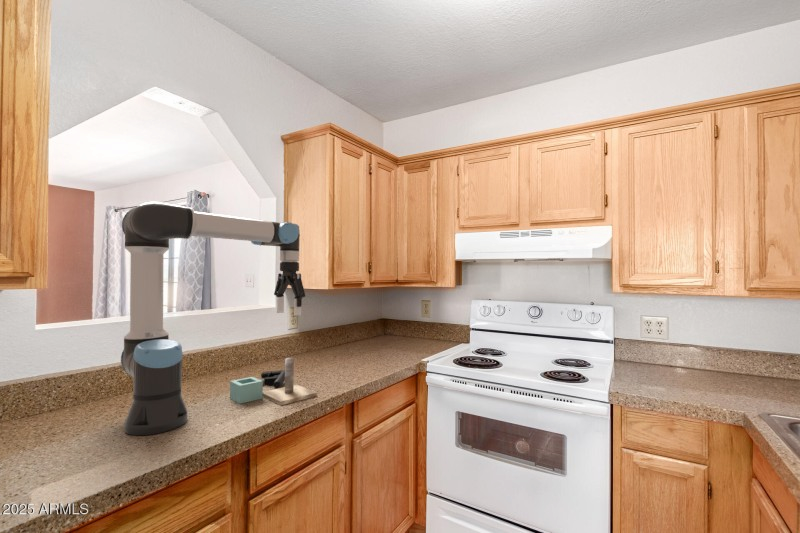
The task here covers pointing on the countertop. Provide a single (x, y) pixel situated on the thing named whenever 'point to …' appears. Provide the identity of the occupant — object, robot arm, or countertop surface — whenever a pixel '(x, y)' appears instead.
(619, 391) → the countertop surface
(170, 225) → the robot arm
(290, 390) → the peg stand
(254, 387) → the collar
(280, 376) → the black toy gun
